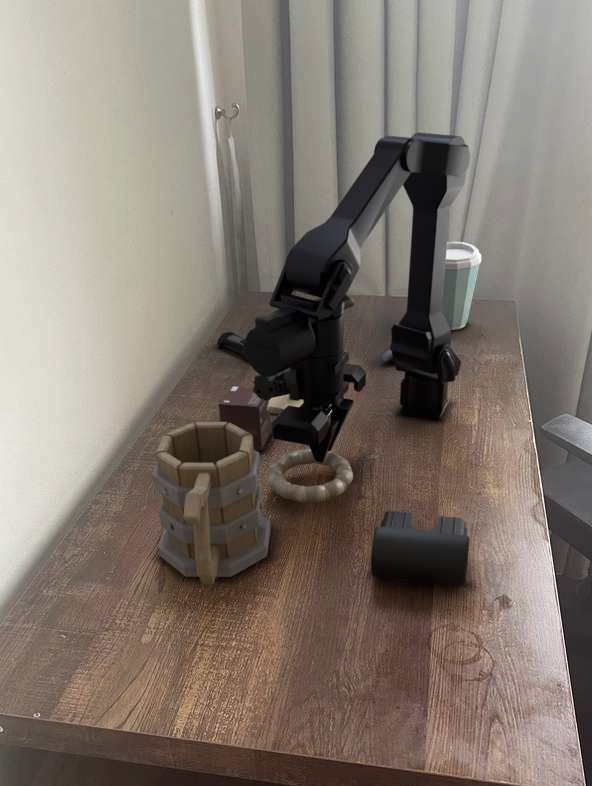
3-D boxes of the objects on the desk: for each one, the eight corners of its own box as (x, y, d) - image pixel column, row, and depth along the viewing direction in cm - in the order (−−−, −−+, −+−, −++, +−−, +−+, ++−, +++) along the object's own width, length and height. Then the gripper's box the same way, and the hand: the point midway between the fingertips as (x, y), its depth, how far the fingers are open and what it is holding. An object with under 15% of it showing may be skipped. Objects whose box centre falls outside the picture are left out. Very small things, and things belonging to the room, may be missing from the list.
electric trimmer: (266, 373, 130) (266, 356, 128) (215, 347, 140) (214, 331, 138) (283, 366, 132) (282, 350, 131) (231, 342, 142) (230, 326, 140)
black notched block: (370, 592, 81) (371, 542, 77) (379, 552, 86) (380, 505, 83) (463, 604, 79) (468, 554, 75) (465, 562, 85) (471, 514, 81)
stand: (331, 395, 121) (331, 355, 118) (311, 420, 115) (309, 377, 111) (281, 388, 124) (279, 347, 121) (258, 411, 118) (255, 369, 114)
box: (261, 452, 107) (258, 406, 103) (221, 448, 108) (217, 403, 104) (272, 432, 112) (269, 387, 108) (233, 429, 113) (229, 385, 109)
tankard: (174, 513, 94) (158, 408, 86) (273, 513, 94) (266, 407, 86) (138, 623, 77) (114, 506, 69) (258, 624, 77) (248, 505, 69)
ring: (363, 467, 99) (363, 454, 98) (334, 512, 91) (334, 499, 90) (288, 453, 103) (287, 440, 102) (254, 495, 95) (253, 482, 93)
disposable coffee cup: (480, 334, 142) (488, 255, 134) (424, 335, 143) (428, 257, 135) (470, 314, 151) (477, 240, 143) (418, 315, 152) (422, 241, 143)
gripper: (290, 316, 101) (295, 417, 110) (227, 370, 87) (238, 481, 95) (368, 325, 97) (366, 429, 106) (315, 383, 83) (318, 498, 92)
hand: (322, 457), depth 100 cm, fingers closed on ring, 2 cm apart
